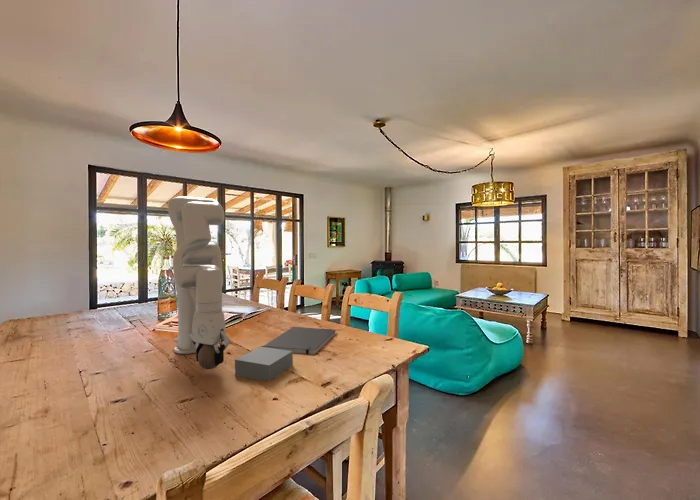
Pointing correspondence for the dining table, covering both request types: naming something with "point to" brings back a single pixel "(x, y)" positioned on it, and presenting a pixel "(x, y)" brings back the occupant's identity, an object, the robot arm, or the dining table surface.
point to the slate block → (263, 363)
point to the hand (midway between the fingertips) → (210, 361)
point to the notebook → (302, 340)
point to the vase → (207, 357)
